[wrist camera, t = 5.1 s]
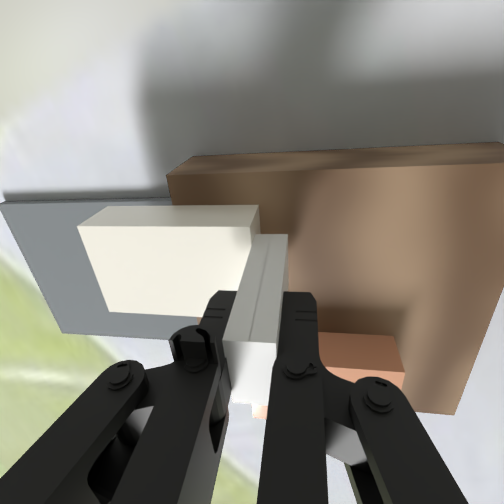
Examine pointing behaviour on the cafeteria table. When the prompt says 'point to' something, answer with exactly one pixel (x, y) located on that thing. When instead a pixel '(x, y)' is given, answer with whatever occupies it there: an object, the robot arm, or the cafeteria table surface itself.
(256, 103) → the cafeteria table surface
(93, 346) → the cafeteria table surface
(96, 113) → the cafeteria table surface
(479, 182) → the deck
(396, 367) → the terracotta tile
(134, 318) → the mat
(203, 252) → the cream tile
